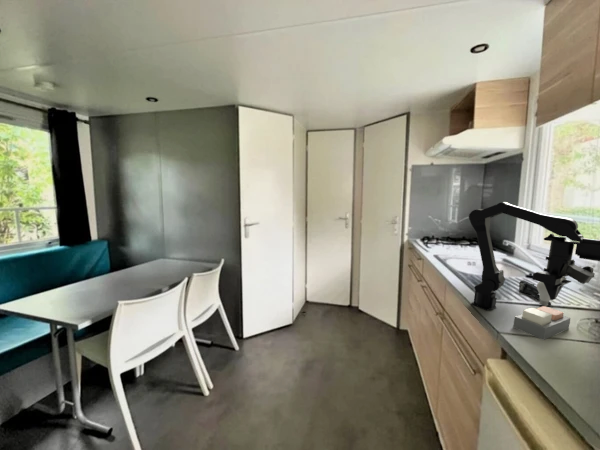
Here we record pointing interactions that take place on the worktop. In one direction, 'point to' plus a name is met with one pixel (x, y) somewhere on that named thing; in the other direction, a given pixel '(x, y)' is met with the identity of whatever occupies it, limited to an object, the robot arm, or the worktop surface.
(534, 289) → the can opener
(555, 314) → the terracotta key
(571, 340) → the worktop surface
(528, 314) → the cream key
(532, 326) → the keypad
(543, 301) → the lightbulb
